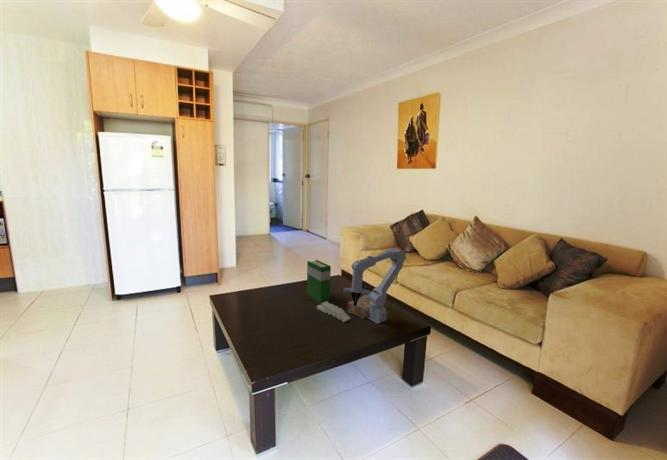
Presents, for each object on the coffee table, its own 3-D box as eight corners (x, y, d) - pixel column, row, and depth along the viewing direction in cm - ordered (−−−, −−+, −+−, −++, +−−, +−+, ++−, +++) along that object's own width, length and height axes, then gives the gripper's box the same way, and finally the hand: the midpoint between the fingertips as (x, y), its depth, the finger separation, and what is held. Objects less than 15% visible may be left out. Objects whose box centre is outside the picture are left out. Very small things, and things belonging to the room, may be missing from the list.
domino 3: (340, 313, 189) (331, 303, 195) (334, 315, 186) (326, 305, 191) (340, 315, 190) (331, 305, 195) (334, 317, 187) (325, 307, 192)
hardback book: (307, 294, 221) (307, 261, 217) (316, 292, 226) (316, 259, 221) (320, 303, 207) (321, 267, 203) (329, 300, 211) (330, 266, 207)
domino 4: (345, 315, 186) (336, 305, 192) (339, 318, 183) (330, 307, 188) (344, 317, 187) (335, 307, 192) (338, 320, 184) (329, 309, 189)
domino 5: (350, 318, 183) (340, 307, 189) (344, 320, 180) (334, 309, 185) (349, 320, 184) (340, 309, 189) (343, 322, 181) (334, 311, 186)
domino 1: (331, 308, 195) (322, 304, 202) (326, 310, 192) (316, 306, 198) (331, 311, 195) (322, 306, 202) (325, 313, 192) (316, 308, 199)
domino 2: (336, 310, 192) (327, 301, 197) (330, 313, 189) (321, 303, 194) (335, 312, 193) (326, 303, 198) (329, 315, 190) (320, 305, 195)
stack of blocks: (367, 293, 209) (383, 298, 201) (367, 302, 210) (383, 307, 202) (347, 302, 193) (363, 308, 185) (347, 312, 194) (363, 318, 186)
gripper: (370, 281, 181) (368, 304, 183) (345, 278, 182) (343, 301, 184) (370, 285, 174) (367, 308, 176) (343, 282, 175) (341, 305, 177)
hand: (355, 305), depth 180 cm, fingers closed
